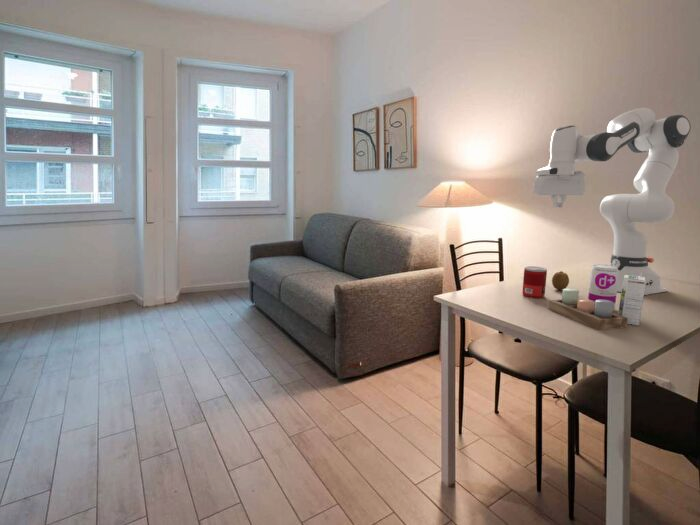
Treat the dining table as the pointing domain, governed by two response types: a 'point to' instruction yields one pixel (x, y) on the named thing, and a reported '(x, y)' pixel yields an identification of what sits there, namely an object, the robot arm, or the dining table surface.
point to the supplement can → (603, 283)
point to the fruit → (560, 280)
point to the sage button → (570, 296)
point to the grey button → (603, 308)
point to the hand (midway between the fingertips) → (557, 207)
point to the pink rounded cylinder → (585, 305)
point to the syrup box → (632, 298)
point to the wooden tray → (587, 316)
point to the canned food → (534, 281)
